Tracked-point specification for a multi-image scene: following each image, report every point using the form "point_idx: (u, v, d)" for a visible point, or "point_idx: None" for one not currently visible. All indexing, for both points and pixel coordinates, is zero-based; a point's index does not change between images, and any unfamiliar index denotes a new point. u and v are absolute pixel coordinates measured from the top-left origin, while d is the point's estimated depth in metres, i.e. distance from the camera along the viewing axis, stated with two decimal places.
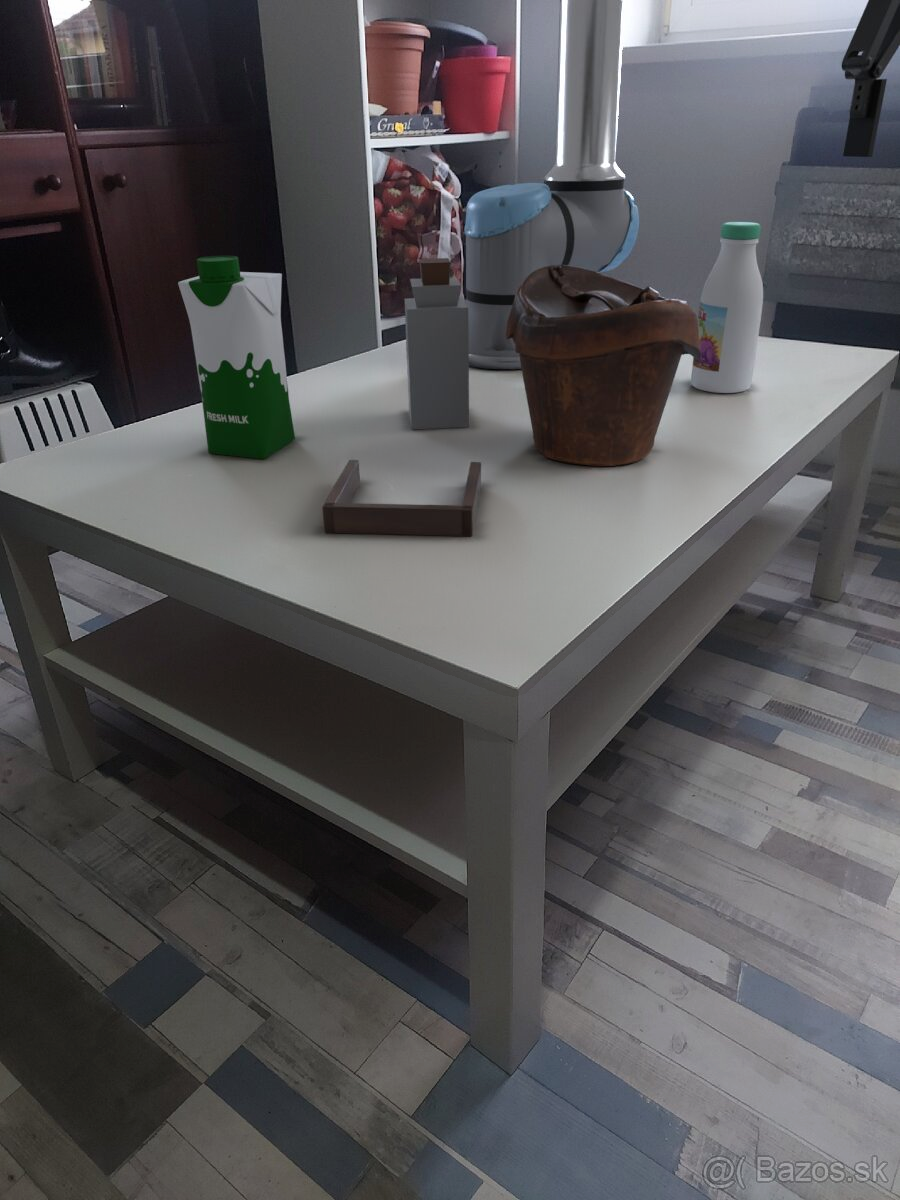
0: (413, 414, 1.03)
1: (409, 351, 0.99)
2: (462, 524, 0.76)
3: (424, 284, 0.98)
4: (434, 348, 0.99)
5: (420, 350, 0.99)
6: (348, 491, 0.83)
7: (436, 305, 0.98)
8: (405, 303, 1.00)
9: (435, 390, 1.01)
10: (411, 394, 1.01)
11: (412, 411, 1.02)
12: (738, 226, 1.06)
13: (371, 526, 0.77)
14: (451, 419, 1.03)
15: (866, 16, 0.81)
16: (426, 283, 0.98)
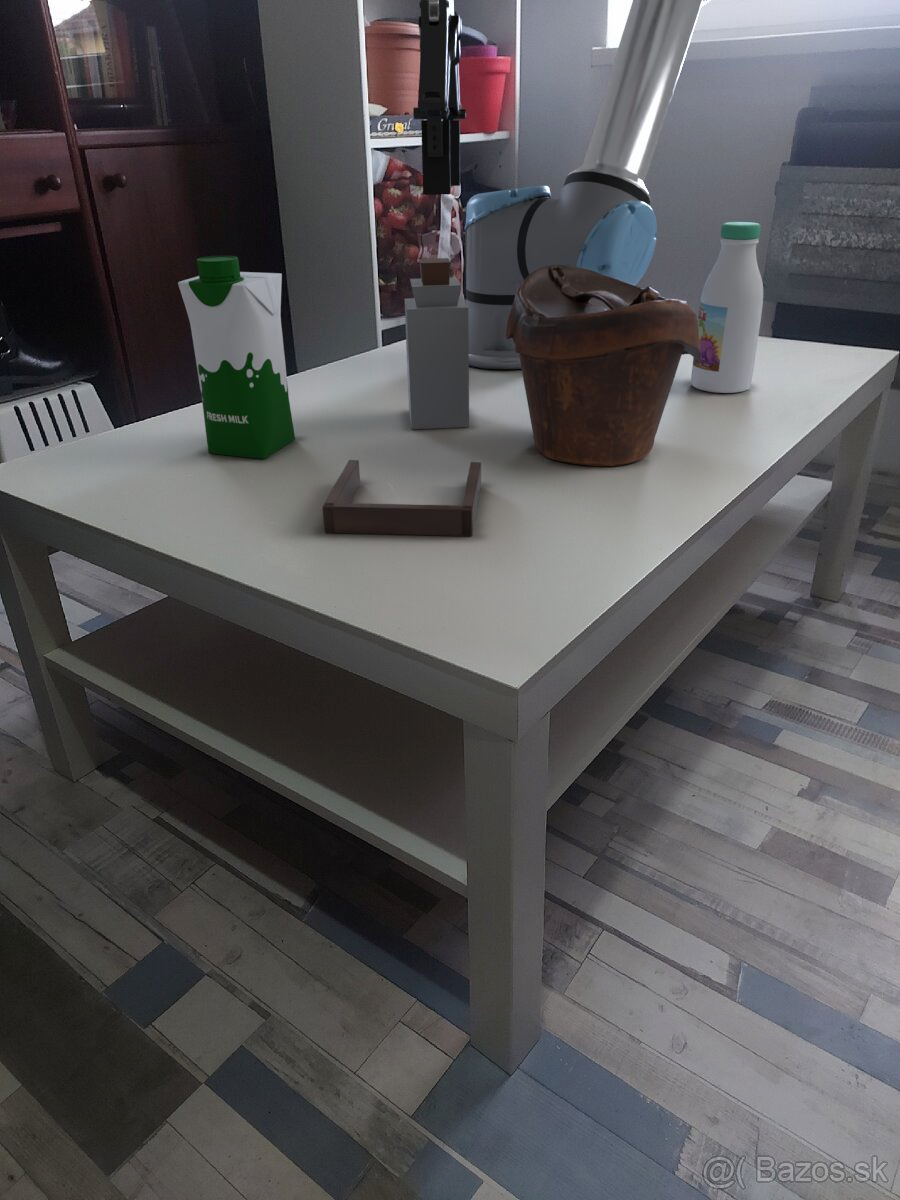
0: (413, 414, 1.03)
1: (409, 351, 0.99)
2: (462, 524, 0.76)
3: (424, 284, 0.98)
4: (434, 348, 0.99)
5: (420, 350, 0.99)
6: (348, 491, 0.83)
7: (436, 305, 0.98)
8: (405, 303, 1.00)
9: (435, 390, 1.01)
10: (411, 394, 1.01)
11: (412, 411, 1.02)
12: (738, 226, 1.06)
13: (371, 526, 0.77)
14: (451, 419, 1.03)
15: (425, 58, 0.82)
16: (426, 283, 0.98)
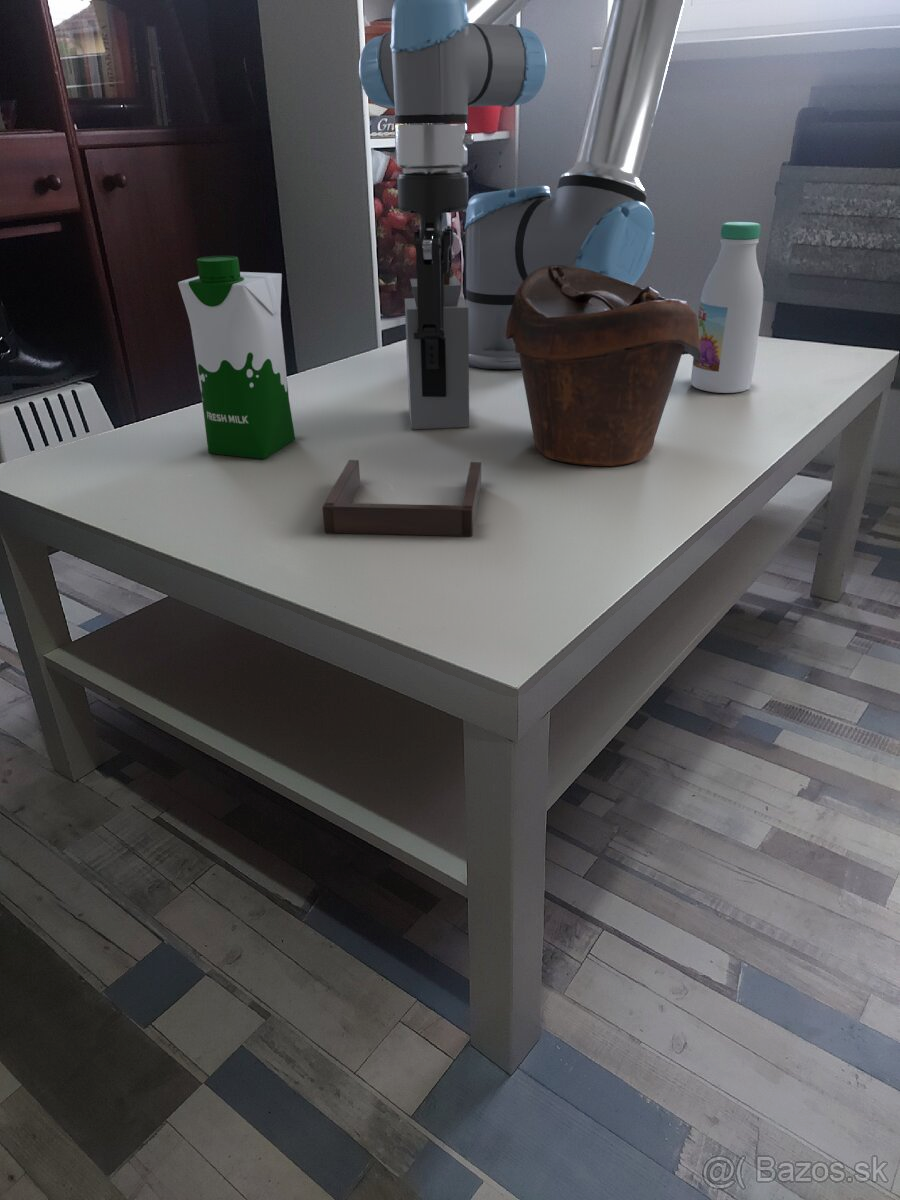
0: (413, 414, 1.03)
1: (409, 351, 0.99)
2: (462, 524, 0.76)
3: None
4: None
5: (420, 350, 0.99)
6: (348, 491, 0.83)
7: None
8: (405, 303, 1.00)
9: None
10: (411, 394, 1.01)
11: (412, 411, 1.02)
12: (738, 226, 1.06)
13: (371, 526, 0.77)
14: (451, 419, 1.03)
15: (422, 294, 0.94)
16: None
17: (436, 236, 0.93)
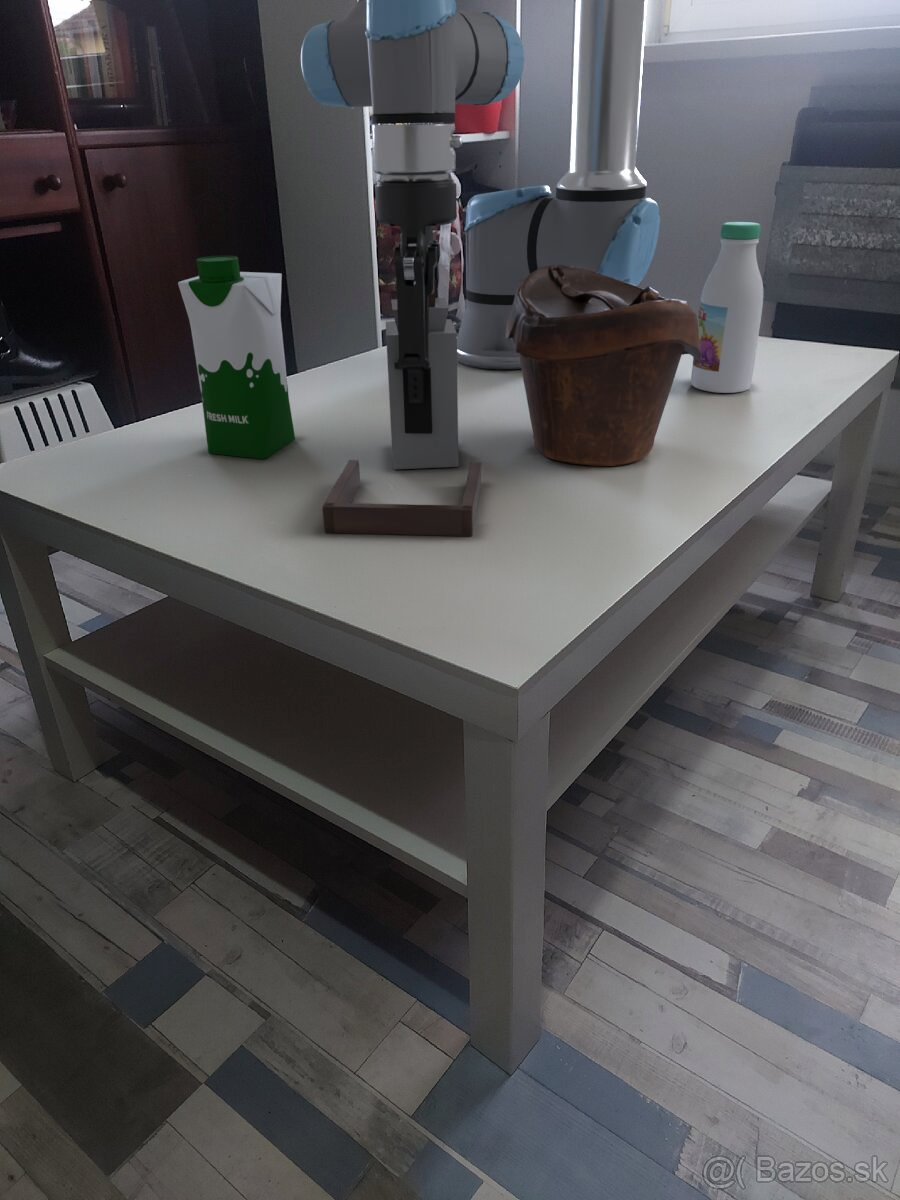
0: (395, 452, 0.90)
1: (389, 382, 0.87)
2: (462, 524, 0.76)
3: None
4: None
5: (402, 381, 0.87)
6: (348, 491, 0.83)
7: None
8: None
9: None
10: (392, 430, 0.89)
11: (394, 449, 0.90)
12: (738, 226, 1.06)
13: (371, 526, 0.77)
14: (438, 458, 0.91)
15: (403, 319, 0.82)
16: None
17: (419, 253, 0.81)
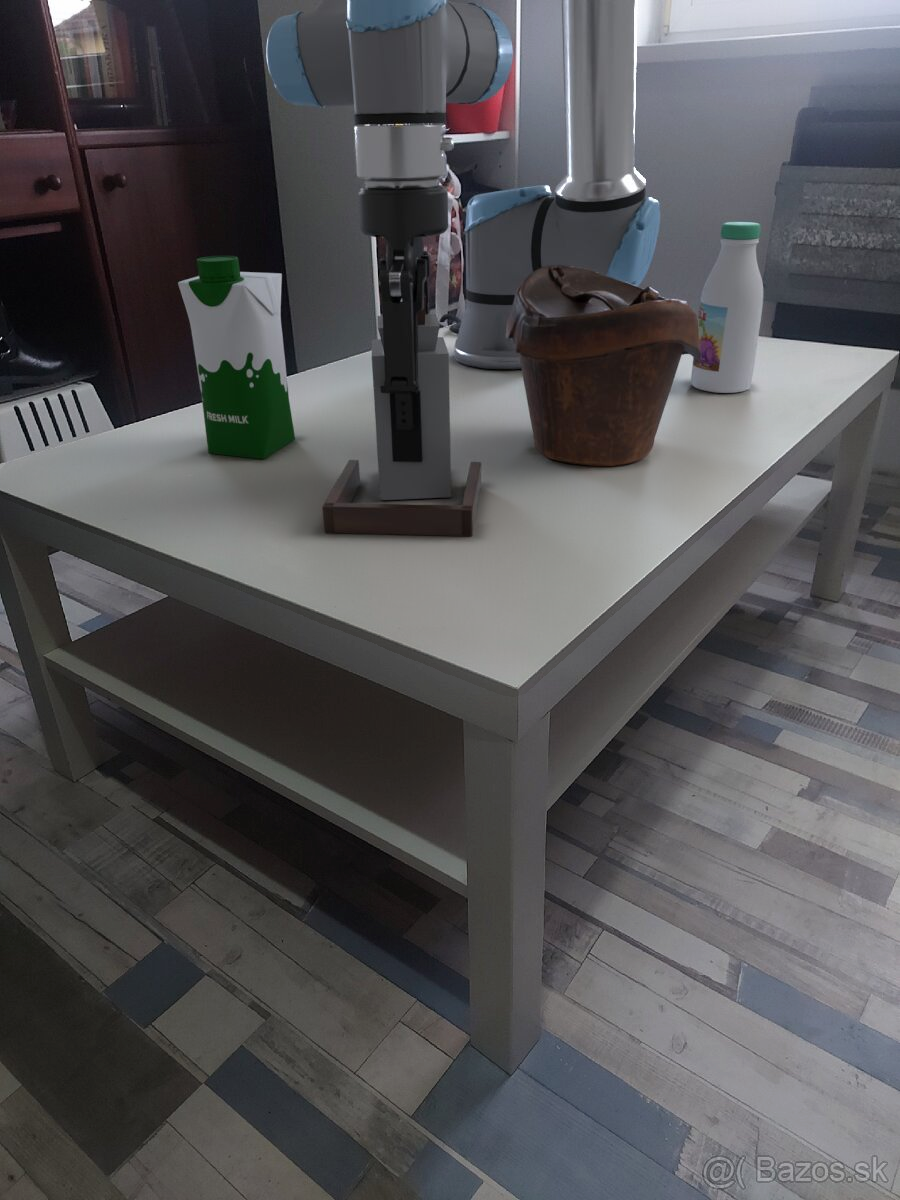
0: (382, 482, 0.83)
1: (375, 407, 0.80)
2: (462, 524, 0.76)
3: None
4: None
5: (389, 405, 0.80)
6: (348, 491, 0.83)
7: None
8: None
9: None
10: (379, 458, 0.82)
11: (380, 479, 0.83)
12: (738, 226, 1.06)
13: (371, 526, 0.77)
14: (429, 488, 0.84)
15: (389, 339, 0.74)
16: None
17: (407, 267, 0.74)
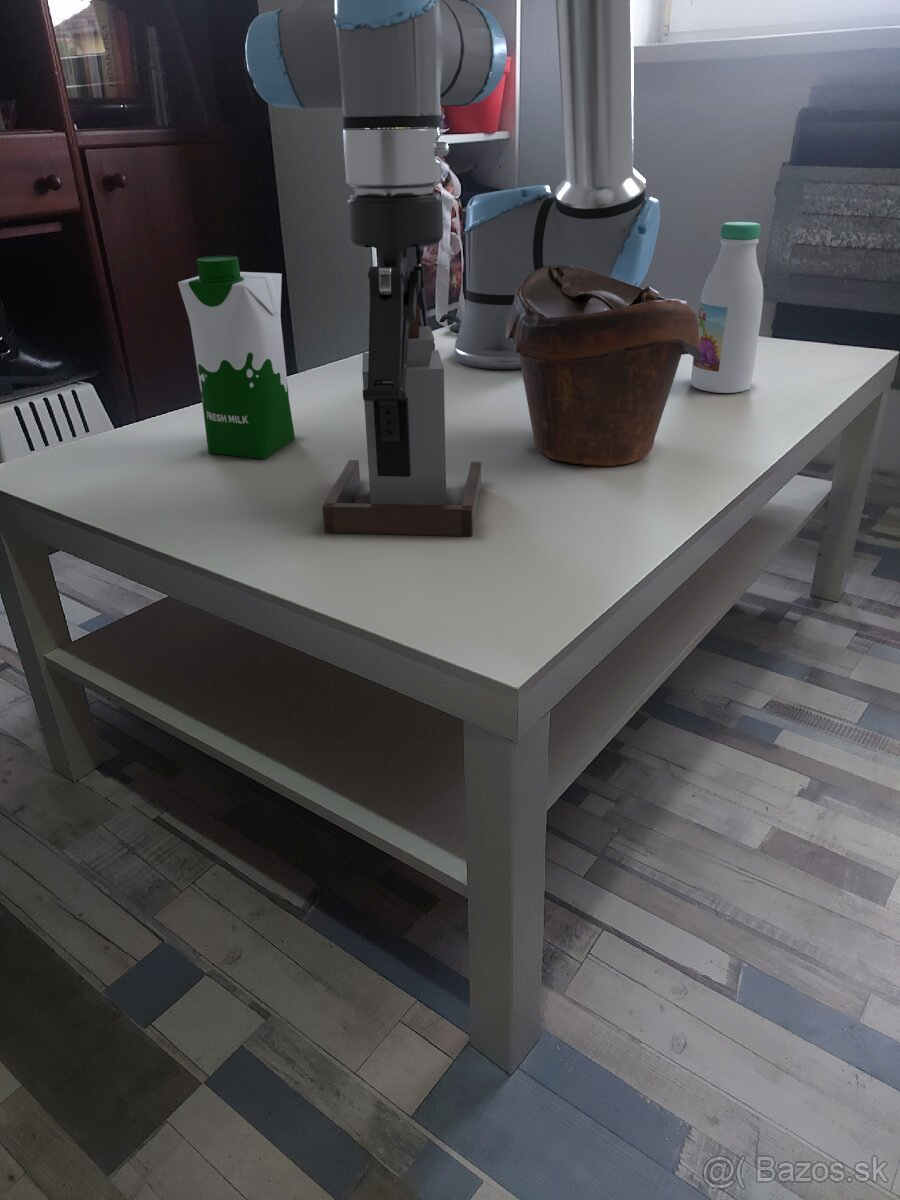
0: (373, 503, 0.79)
1: (367, 424, 0.76)
2: (462, 524, 0.76)
3: None
4: None
5: None
6: (348, 491, 0.83)
7: None
8: None
9: None
10: (370, 478, 0.78)
11: (372, 499, 0.79)
12: (738, 226, 1.06)
13: (371, 526, 0.77)
14: None
15: (375, 339, 0.68)
16: None
17: None
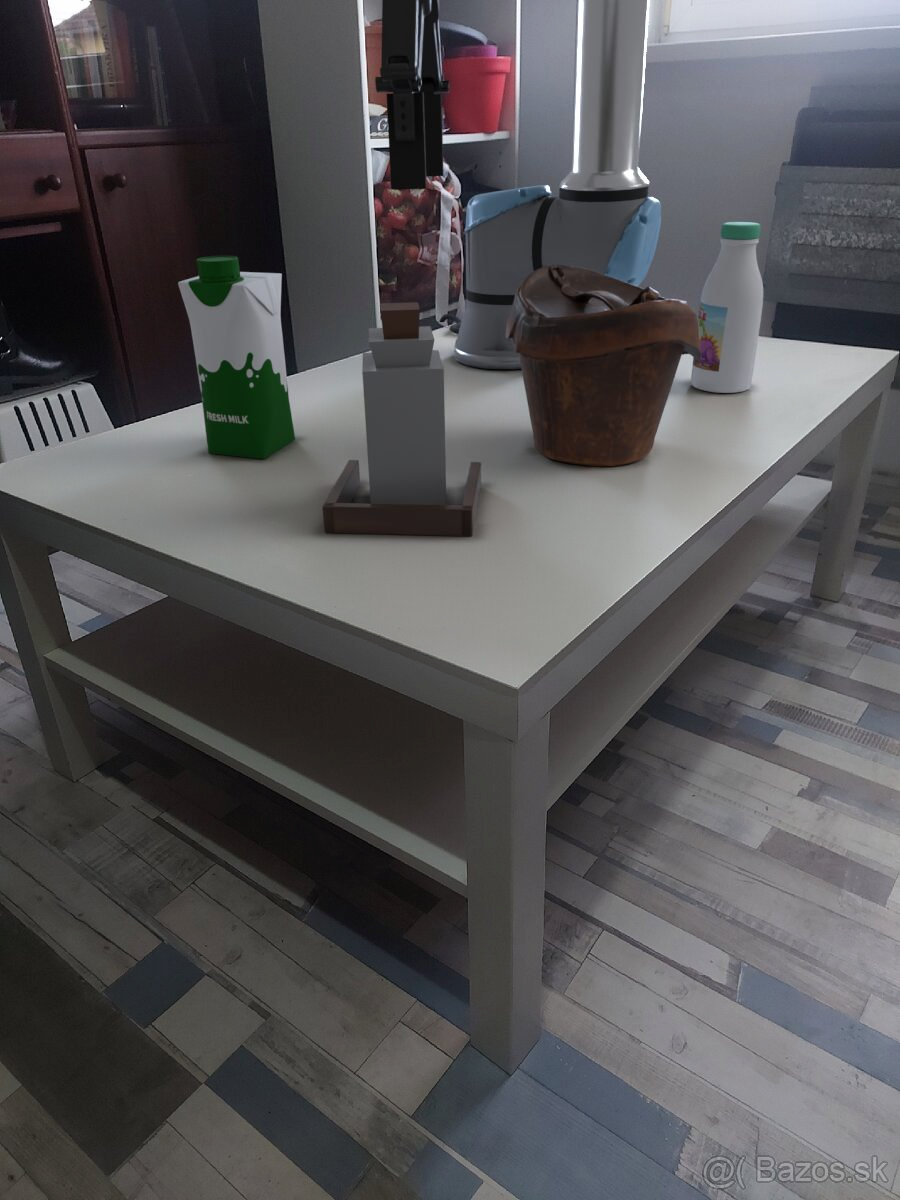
0: (373, 503, 0.79)
1: (367, 424, 0.76)
2: (462, 524, 0.76)
3: (386, 338, 0.74)
4: (399, 420, 0.76)
5: (381, 423, 0.76)
6: (348, 491, 0.83)
7: (402, 364, 0.74)
8: None
9: (402, 473, 0.78)
10: (370, 478, 0.78)
11: (372, 499, 0.79)
12: (738, 226, 1.06)
13: (371, 526, 0.77)
14: None
15: (389, 11, 0.62)
16: (388, 337, 0.74)
17: None
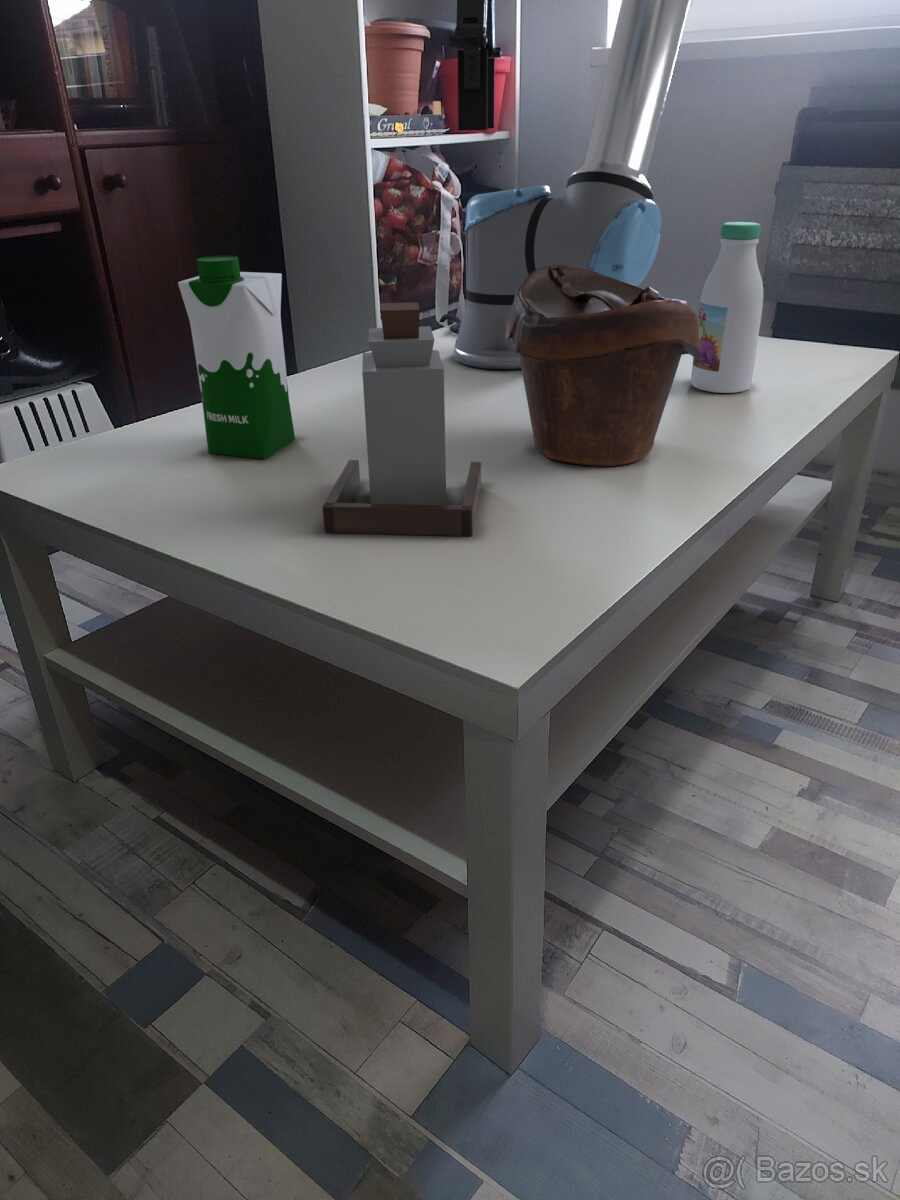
0: (373, 503, 0.79)
1: (367, 424, 0.76)
2: (462, 524, 0.76)
3: (386, 338, 0.74)
4: (399, 420, 0.76)
5: (381, 423, 0.76)
6: (348, 491, 0.83)
7: (402, 364, 0.74)
8: None
9: (402, 473, 0.78)
10: (370, 478, 0.78)
11: (372, 499, 0.79)
12: (738, 226, 1.06)
13: (371, 526, 0.77)
14: None
15: None
16: (388, 337, 0.74)
17: None
